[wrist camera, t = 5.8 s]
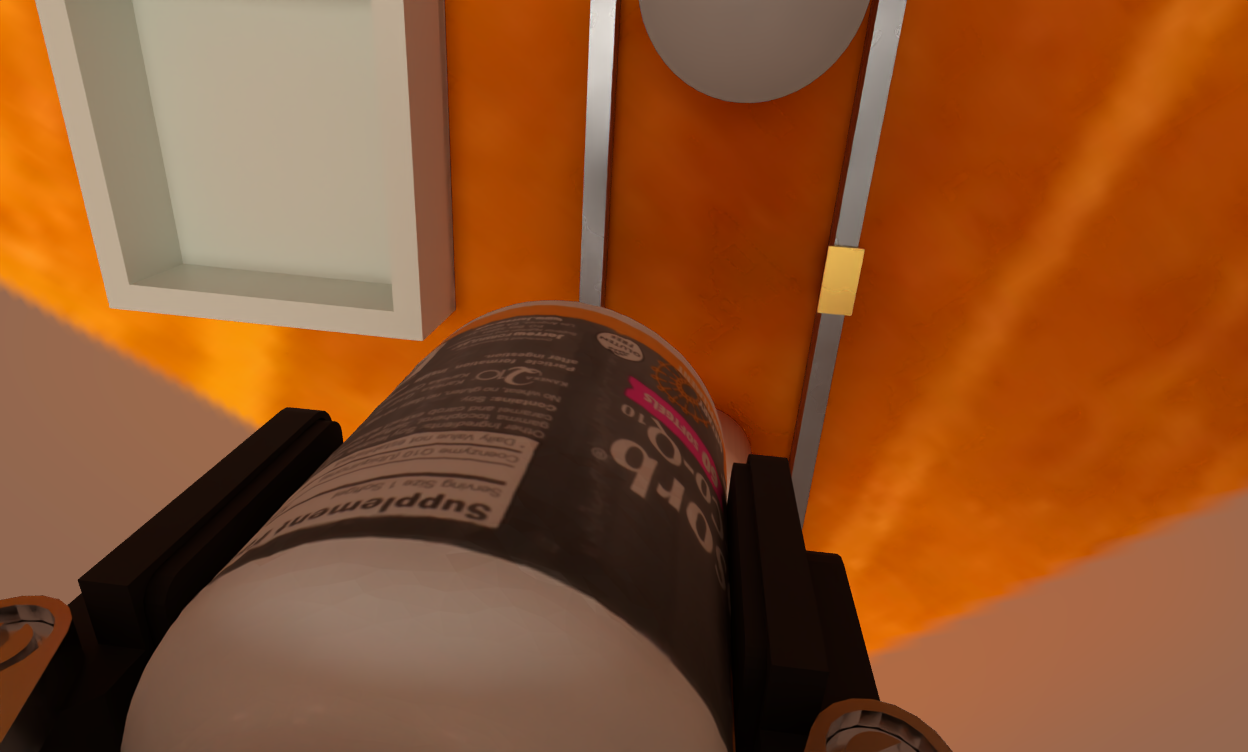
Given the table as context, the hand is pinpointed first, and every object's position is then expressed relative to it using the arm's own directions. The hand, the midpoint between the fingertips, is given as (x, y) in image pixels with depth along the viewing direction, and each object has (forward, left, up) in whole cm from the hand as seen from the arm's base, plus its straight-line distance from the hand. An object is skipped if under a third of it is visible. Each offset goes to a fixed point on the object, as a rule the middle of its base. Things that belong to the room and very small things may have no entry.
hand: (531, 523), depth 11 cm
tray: (+13, -3, -18) cm, 22 cm away
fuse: (-3, -8, -18) cm, 20 cm away
